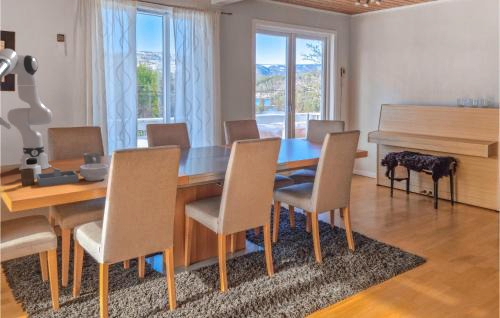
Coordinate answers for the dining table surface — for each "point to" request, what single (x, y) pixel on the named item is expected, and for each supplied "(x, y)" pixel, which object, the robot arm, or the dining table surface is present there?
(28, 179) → the sleeve
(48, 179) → the tray
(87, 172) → the paper bowls
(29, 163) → the medicine bottle
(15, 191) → the dining table surface
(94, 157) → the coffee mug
